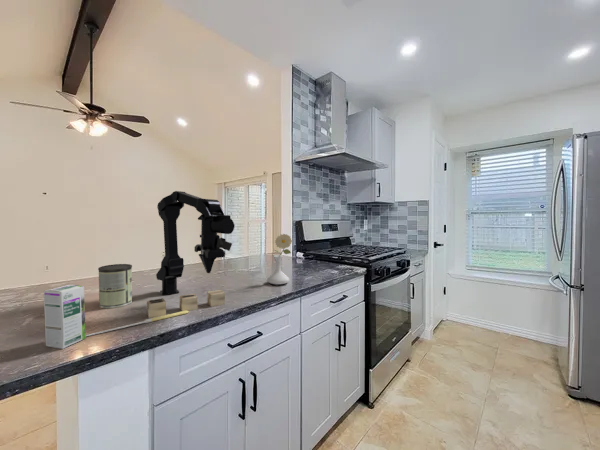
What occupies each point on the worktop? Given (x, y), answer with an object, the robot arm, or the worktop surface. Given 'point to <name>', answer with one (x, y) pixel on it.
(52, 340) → the syrup box
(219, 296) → the plain block
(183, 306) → the marked block 2
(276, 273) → the flower in vase
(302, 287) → the worktop surface
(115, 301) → the coffee can
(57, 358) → the worktop surface
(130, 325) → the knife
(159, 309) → the marked block 1
